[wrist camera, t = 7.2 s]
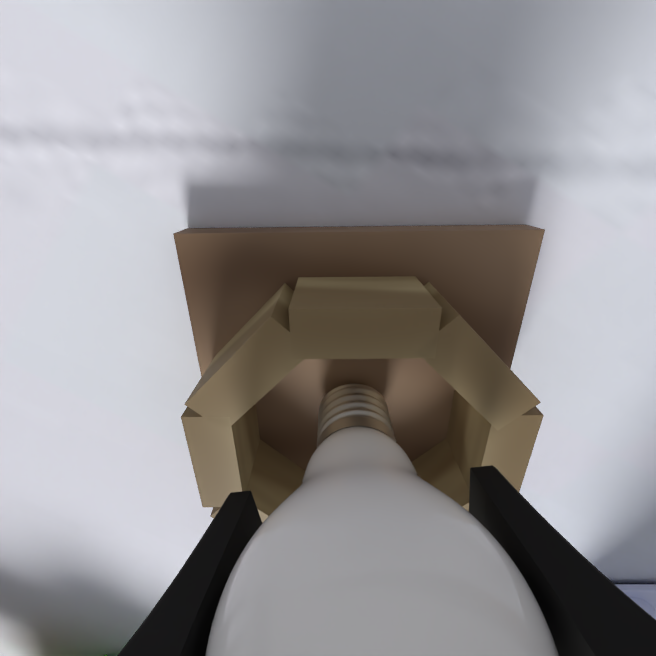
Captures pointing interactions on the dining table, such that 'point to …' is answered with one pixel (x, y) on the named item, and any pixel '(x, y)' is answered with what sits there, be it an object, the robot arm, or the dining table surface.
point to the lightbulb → (373, 560)
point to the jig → (356, 348)
